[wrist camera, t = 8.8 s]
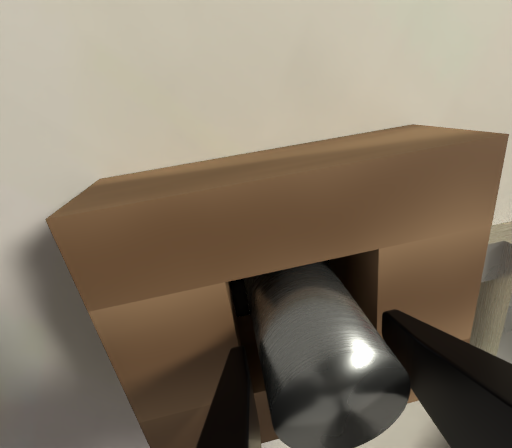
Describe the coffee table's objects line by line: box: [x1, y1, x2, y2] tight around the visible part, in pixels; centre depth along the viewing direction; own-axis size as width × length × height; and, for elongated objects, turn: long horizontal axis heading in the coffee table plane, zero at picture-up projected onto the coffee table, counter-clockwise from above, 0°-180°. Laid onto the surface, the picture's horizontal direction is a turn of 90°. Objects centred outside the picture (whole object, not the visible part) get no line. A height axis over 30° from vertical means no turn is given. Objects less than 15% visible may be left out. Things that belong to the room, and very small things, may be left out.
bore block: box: [45, 125, 509, 448], centre depth 11 cm, size 10×12×4 cm
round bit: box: [244, 261, 411, 448], centre depth 10 cm, size 3×3×7 cm
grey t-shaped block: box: [469, 221, 512, 364], centre depth 15 cm, size 7×6×2 cm
